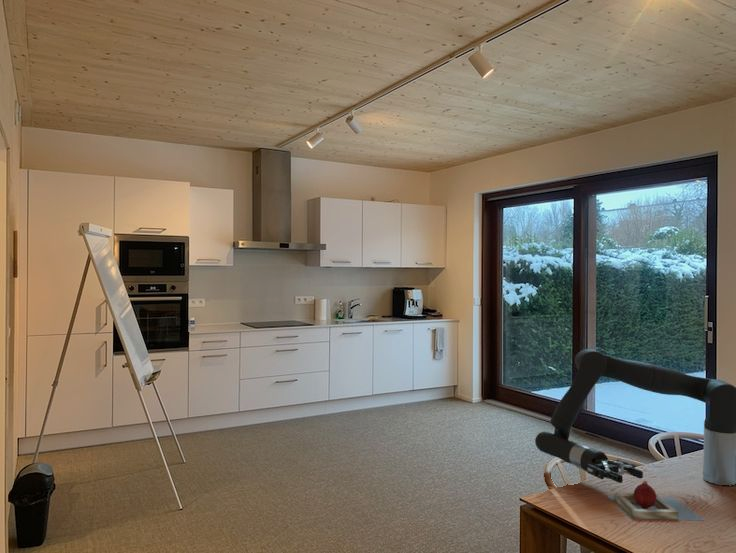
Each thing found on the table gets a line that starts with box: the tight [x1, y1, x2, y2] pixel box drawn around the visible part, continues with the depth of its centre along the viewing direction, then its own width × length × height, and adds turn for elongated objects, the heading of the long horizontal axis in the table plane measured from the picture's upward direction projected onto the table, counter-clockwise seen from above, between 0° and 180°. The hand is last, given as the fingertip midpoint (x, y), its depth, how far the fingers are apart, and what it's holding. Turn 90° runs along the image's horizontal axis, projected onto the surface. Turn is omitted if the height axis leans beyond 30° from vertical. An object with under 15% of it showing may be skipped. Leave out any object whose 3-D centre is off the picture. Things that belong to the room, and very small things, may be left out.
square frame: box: [614, 492, 678, 520], centre depth 155 cm, size 12×12×2 cm
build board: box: [607, 495, 705, 522], centre depth 156 cm, size 20×15×2 cm
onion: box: [633, 480, 657, 509], centre depth 155 cm, size 6×6×8 cm
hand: (632, 477), depth 159 cm, fingers open, 8 cm apart
